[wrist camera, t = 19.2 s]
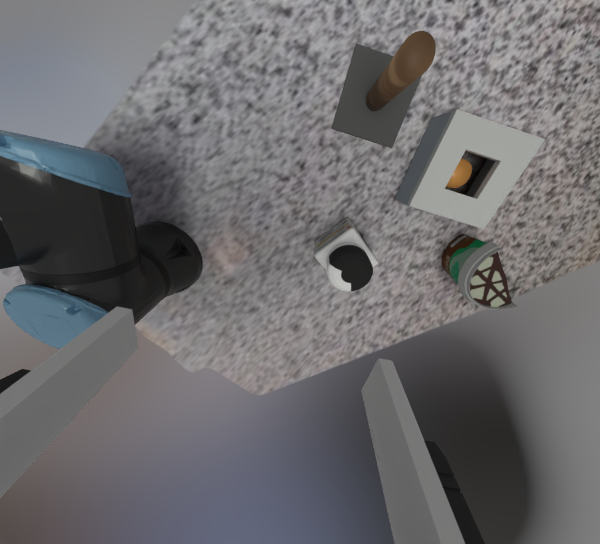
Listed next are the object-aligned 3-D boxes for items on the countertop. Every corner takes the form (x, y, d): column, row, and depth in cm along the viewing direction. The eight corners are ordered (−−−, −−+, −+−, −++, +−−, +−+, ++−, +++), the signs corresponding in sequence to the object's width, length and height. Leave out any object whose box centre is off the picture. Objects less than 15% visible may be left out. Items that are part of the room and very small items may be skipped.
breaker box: (394, 198, 39) (409, 206, 32) (431, 119, 33) (457, 109, 27) (457, 218, 39) (483, 229, 33) (503, 143, 34) (545, 139, 28)
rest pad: (331, 128, 35) (331, 128, 34) (355, 45, 30) (356, 43, 30) (391, 147, 35) (391, 147, 35) (423, 68, 31) (424, 67, 30)
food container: (426, 243, 42) (455, 265, 33) (460, 227, 40) (501, 245, 31) (445, 292, 46) (476, 323, 37) (477, 279, 44) (517, 308, 35)
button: (428, 182, 37) (437, 183, 34) (442, 156, 35) (452, 155, 32) (451, 189, 37) (461, 191, 34) (465, 163, 35) (477, 163, 32)
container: (347, 216, 41) (358, 238, 29) (370, 247, 43) (388, 279, 31) (314, 241, 43) (312, 270, 32) (337, 269, 46) (343, 306, 34)
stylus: (362, 107, 33) (392, 71, 20) (370, 82, 32) (409, 25, 18) (381, 114, 33) (423, 82, 20) (390, 89, 32) (442, 37, 18)
